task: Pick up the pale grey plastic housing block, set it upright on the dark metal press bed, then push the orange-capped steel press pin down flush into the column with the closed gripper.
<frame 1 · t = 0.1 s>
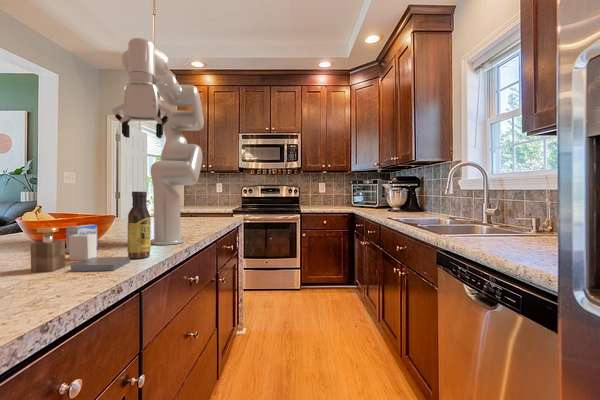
hand: (142, 137, 102), 37 cm above the worktop, tool pointing down, fingers open, 9 cm apart
press bed: (102, 266, 87), on the worktop
housing: (83, 258, 98), on the worktop
press column: (48, 269, 84), on the worktop
sauce bottle: (139, 257, 99), on the worktop
medicine box: (82, 252, 108), on the worktop
press pin: (48, 240, 83), point 7 cm above the worktop, slide at 0.0 cm
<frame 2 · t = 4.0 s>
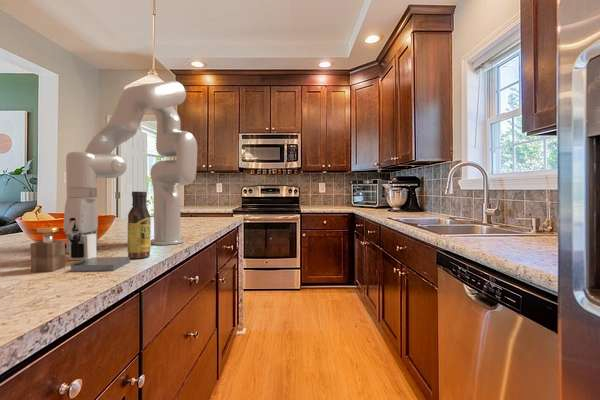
hand: (83, 254, 98), 1 cm above the worktop, tool pointing down, fingers closed on housing, 5 cm apart
housing: (83, 258, 98), on the worktop, touching gripper
everything else where it was.
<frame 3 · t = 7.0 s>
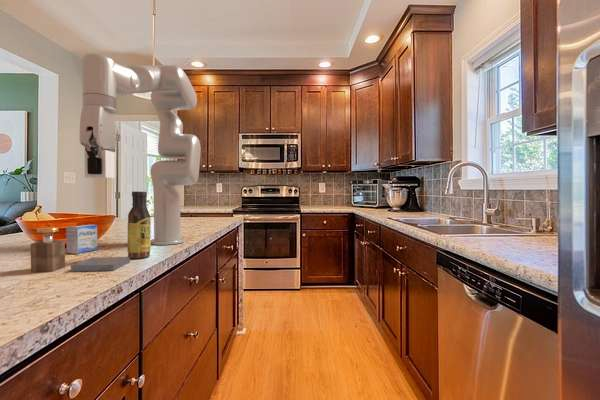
hand: (100, 174, 86), 24 cm above the worktop, tool pointing down, fingers closed on housing, 5 cm apart
housing: (100, 177, 86), point 23 cm above the worktop, touching gripper
everything else where it was.
when the fingers open (3 cm above the worktop, at t = 10.1 s): housing stays where it is, resting on press bed.
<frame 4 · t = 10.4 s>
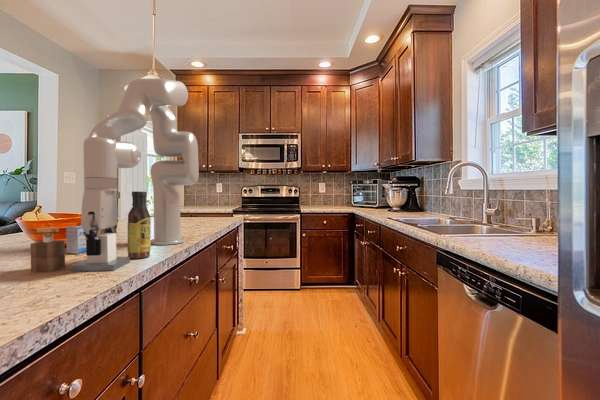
hand: (102, 251, 87), 4 cm above the worktop, tool pointing down, fingers open, 7 cm apart
housing: (102, 260, 87), point 1 cm above the worktop, touching press bed
everything else where it was.
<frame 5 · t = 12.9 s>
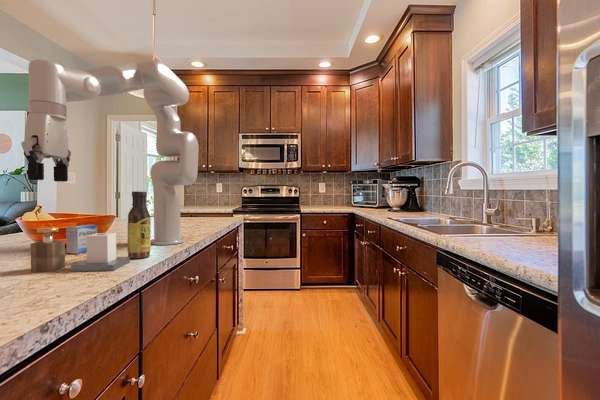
hand: (49, 180, 83), 23 cm above the worktop, tool pointing down, fingers open, 9 cm apart
nothing on the worktop moved.
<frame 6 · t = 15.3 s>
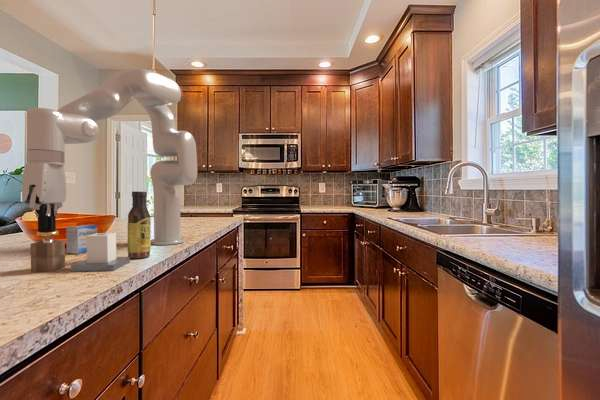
hand: (47, 231, 83), 10 cm above the worktop, tool pointing down, fingers closed
press pin: (48, 244, 83), point 6 cm above the worktop, slide at 0.9 cm, touching gripper
everything else where it was.
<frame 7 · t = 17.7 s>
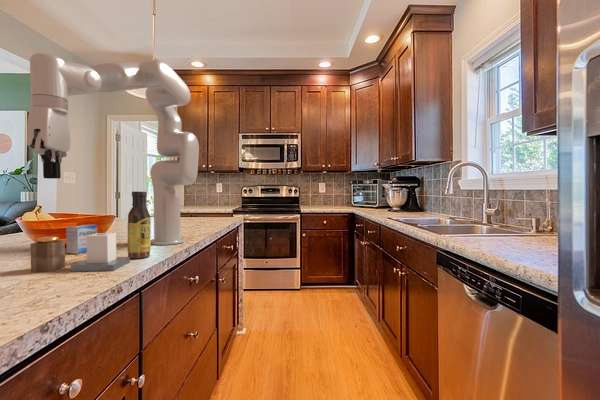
hand: (52, 178, 84), 23 cm above the worktop, tool pointing down, fingers closed
press pin: (48, 250, 83), point 5 cm above the worktop, slide at 2.4 cm
everything else where it was.
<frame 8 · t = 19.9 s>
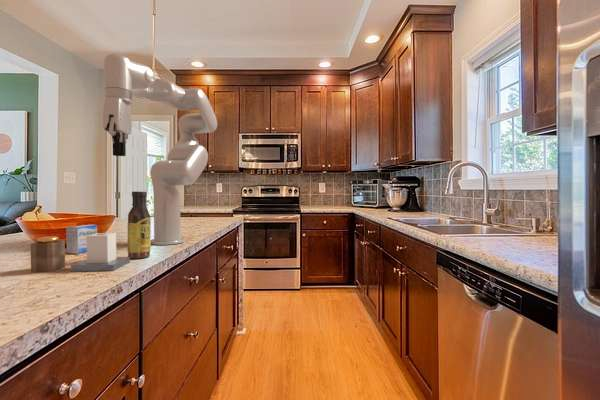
hand: (119, 155, 104), 31 cm above the worktop, tool pointing down, fingers closed
nothing on the worktop moved.
at the end: housing inside the target area on the press bed (0.1 cm from its centre), point 1.5 cm above the press bed's base; housing tilted 0°; press pin slide at 2.4 cm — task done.
